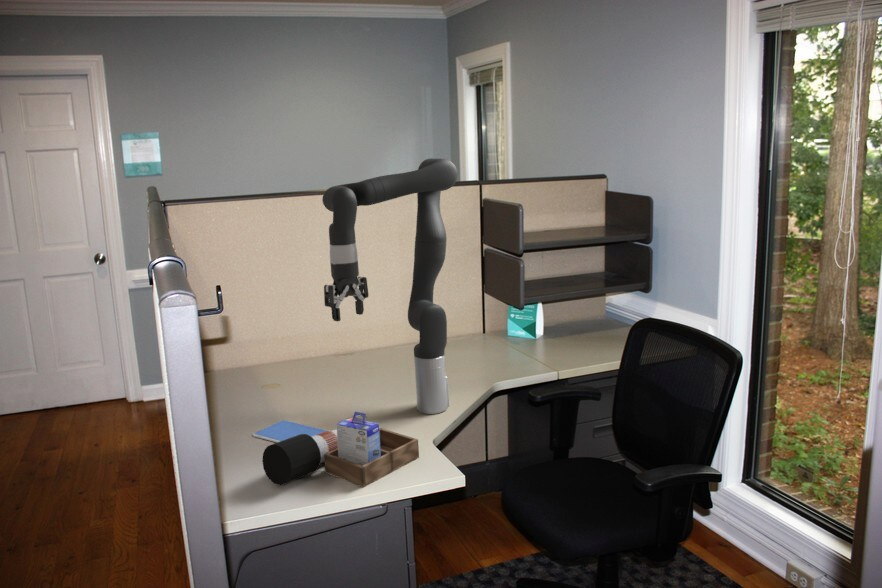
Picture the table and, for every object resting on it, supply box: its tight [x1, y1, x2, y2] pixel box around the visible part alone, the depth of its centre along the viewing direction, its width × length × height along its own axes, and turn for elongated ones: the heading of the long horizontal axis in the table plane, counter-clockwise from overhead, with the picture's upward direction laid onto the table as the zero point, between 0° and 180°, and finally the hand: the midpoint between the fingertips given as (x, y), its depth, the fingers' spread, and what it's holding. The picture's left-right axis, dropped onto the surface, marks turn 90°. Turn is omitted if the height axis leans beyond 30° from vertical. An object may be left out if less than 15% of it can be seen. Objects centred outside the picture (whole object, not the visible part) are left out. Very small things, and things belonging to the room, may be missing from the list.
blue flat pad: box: [252, 419, 328, 443], centre depth 208 cm, size 19×13×1 cm, turn 56°
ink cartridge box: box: [335, 411, 381, 466], centre depth 181 cm, size 10×6×14 cm, turn 59°
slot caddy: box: [324, 427, 420, 488], centre depth 185 cm, size 20×14×5 cm
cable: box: [261, 428, 338, 486], centre depth 189 cm, size 10×34×10 cm, turn 143°
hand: (348, 317), depth 202 cm, fingers open, 8 cm apart
